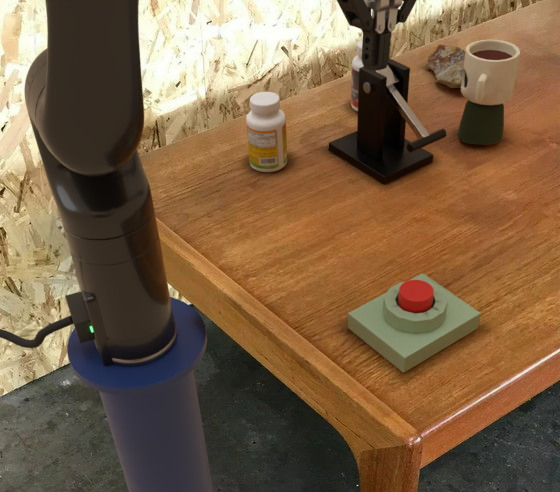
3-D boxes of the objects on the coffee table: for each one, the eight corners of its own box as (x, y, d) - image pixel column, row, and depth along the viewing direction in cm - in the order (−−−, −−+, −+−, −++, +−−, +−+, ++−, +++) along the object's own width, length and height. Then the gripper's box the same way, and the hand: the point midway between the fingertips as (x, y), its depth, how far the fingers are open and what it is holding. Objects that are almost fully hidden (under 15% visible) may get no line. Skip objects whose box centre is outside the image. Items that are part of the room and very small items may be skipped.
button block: (403, 373, 82) (406, 345, 79) (347, 327, 87) (348, 300, 84) (478, 328, 86) (483, 300, 83) (420, 287, 92) (423, 259, 89)
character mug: (465, 117, 119) (476, 30, 110) (512, 125, 117) (528, 37, 108) (444, 153, 112) (455, 63, 103) (494, 162, 110) (510, 70, 101)
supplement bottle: (269, 149, 115) (266, 84, 108) (295, 162, 112) (293, 97, 105) (241, 163, 112) (236, 98, 106) (267, 177, 110) (263, 111, 103)
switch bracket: (432, 162, 111) (442, 73, 102) (384, 184, 107) (389, 94, 98) (375, 129, 118) (379, 43, 109) (328, 150, 114) (328, 62, 105)
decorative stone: (463, 72, 118) (408, 48, 129) (462, 101, 121) (408, 75, 132) (515, 57, 121) (457, 35, 132) (513, 85, 124) (456, 61, 135)
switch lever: (442, 142, 105) (450, 130, 103) (408, 157, 103) (416, 146, 101) (391, 72, 107) (398, 60, 105) (357, 86, 105) (363, 73, 103)
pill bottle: (344, 102, 124) (346, 40, 117) (375, 95, 125) (378, 33, 118) (360, 117, 120) (362, 54, 113) (391, 110, 122) (395, 46, 115)
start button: (414, 318, 82) (415, 306, 81) (391, 301, 85) (391, 288, 83) (439, 304, 84) (441, 291, 83) (415, 287, 86) (417, 275, 85)
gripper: (368, -118, 69) (357, 86, 79) (462, -122, 77) (441, 65, 86) (309, -121, 74) (306, 72, 84) (403, -125, 81) (390, 53, 91)
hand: (374, 68), depth 85 cm, fingers closed
